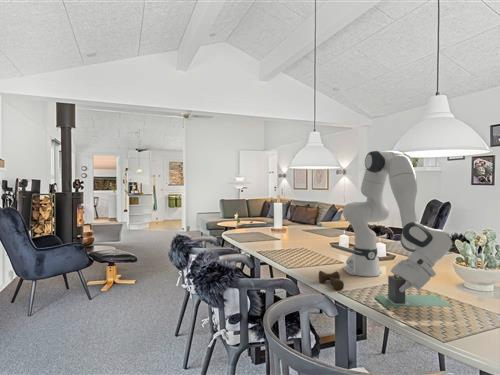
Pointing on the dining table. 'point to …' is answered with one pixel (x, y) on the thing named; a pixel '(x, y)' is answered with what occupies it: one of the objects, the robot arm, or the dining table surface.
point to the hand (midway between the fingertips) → (395, 287)
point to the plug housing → (396, 289)
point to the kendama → (332, 279)
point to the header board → (413, 301)
